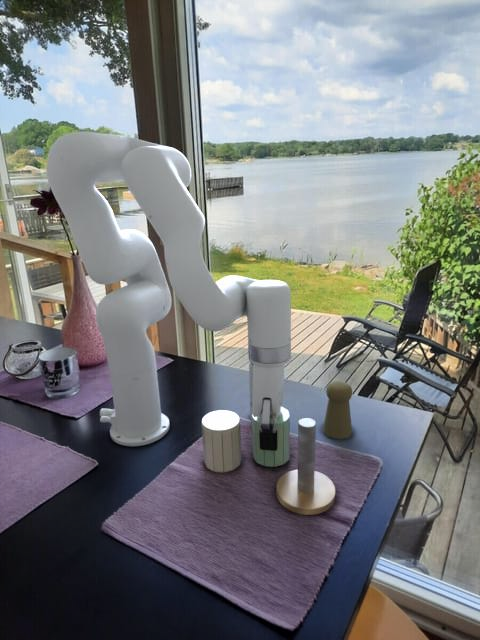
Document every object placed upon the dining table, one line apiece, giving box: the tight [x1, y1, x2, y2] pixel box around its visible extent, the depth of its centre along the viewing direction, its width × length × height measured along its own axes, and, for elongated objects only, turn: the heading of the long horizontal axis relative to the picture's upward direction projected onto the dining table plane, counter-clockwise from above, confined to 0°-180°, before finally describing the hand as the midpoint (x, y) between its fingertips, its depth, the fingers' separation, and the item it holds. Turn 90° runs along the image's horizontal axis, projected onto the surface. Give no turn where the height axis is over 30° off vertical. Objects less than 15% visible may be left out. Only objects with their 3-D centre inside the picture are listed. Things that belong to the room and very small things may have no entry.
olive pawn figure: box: [322, 380, 353, 440], centre depth 91 cm, size 6×6×11 cm
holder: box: [275, 417, 337, 516], centre depth 73 cm, size 10×10×14 cm
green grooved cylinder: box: [251, 406, 291, 468], centre depth 83 cm, size 7×7×9 cm
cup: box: [201, 409, 242, 473], centre depth 83 cm, size 7×7×9 cm
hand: (270, 436), depth 83 cm, fingers closed on green grooved cylinder, 7 cm apart
